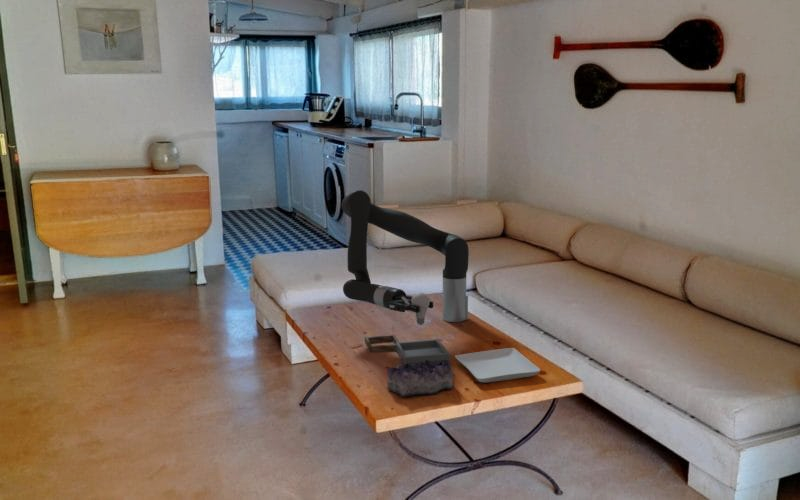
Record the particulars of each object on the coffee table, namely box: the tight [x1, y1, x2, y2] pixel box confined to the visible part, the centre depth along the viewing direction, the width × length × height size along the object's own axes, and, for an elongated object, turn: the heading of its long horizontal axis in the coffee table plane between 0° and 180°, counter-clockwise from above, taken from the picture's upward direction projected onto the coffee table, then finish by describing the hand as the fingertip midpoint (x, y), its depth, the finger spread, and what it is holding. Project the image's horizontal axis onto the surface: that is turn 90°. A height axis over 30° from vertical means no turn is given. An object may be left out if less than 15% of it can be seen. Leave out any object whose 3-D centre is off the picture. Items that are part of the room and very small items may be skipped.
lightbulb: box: [411, 292, 431, 326], centre depth 234 cm, size 6×6×11 cm
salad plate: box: [454, 347, 541, 384], centre depth 223 cm, size 21×21×3 cm
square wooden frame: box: [364, 334, 400, 353], centre depth 248 cm, size 11×11×2 cm
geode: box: [386, 360, 455, 398], centre depth 209 cm, size 20×12×10 cm, turn 109°
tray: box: [395, 338, 451, 365], centre depth 237 cm, size 15×15×3 cm
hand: (425, 307), depth 232 cm, fingers closed on lightbulb, 6 cm apart
